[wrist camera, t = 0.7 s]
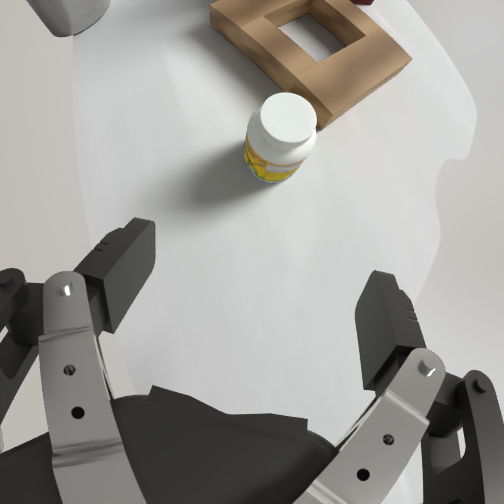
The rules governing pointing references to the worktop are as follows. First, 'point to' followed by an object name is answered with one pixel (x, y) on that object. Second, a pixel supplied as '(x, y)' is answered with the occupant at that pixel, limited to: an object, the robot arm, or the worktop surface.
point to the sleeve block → (303, 65)
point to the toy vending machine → (362, 2)
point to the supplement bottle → (279, 137)
